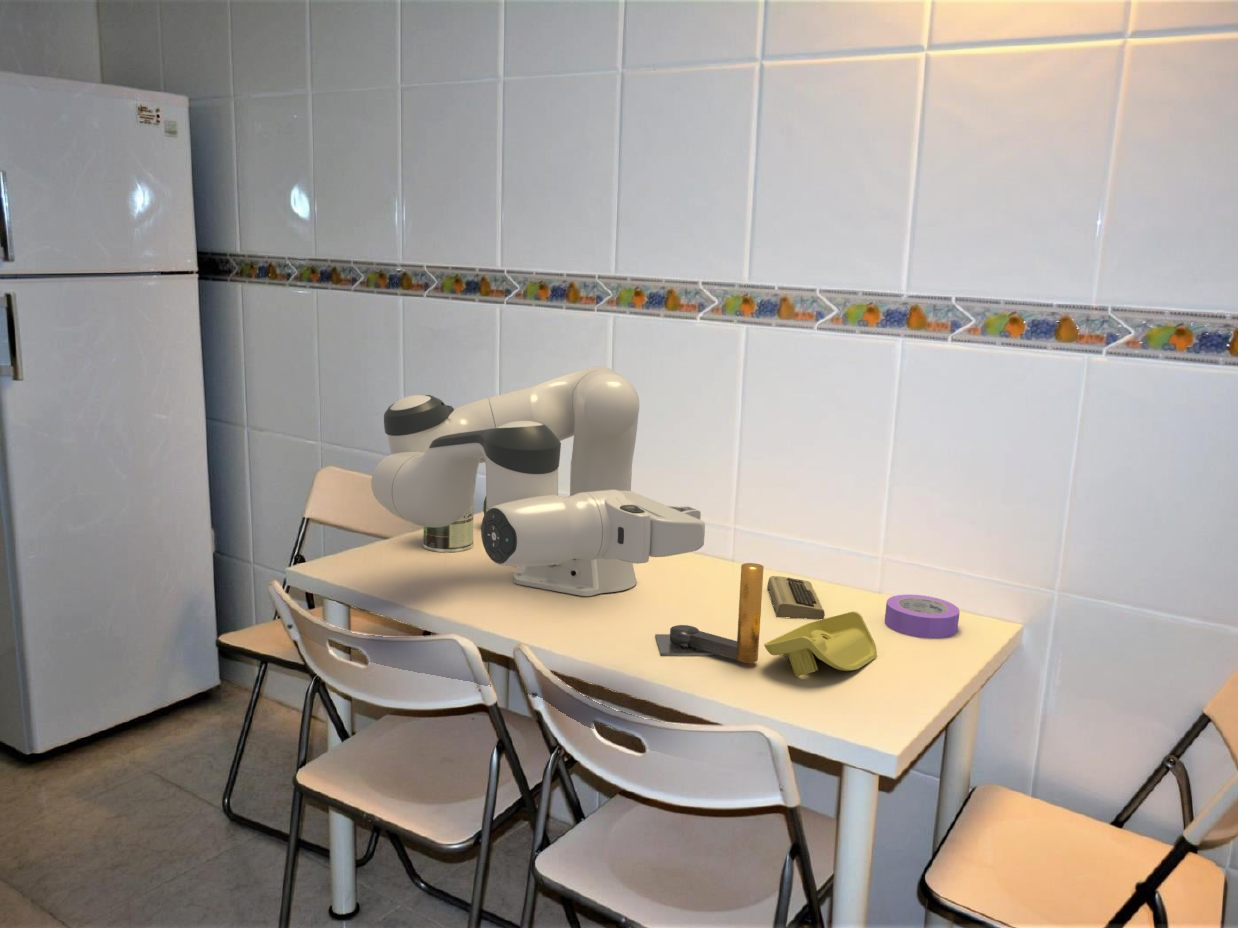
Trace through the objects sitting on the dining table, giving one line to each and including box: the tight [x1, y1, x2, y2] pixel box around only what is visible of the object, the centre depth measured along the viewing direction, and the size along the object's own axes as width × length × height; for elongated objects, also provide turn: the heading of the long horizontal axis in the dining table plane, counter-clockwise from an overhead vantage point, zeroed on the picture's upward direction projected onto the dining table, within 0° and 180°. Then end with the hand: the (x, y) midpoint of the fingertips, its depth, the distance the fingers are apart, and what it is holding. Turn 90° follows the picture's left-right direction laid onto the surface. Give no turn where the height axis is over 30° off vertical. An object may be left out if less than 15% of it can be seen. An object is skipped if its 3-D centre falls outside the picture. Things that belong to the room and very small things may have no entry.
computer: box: [766, 575, 826, 620], centre depth 179 cm, size 16×8×3 cm, turn 178°
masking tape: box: [884, 594, 961, 640], centre depth 169 cm, size 12×12×4 cm
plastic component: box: [763, 611, 878, 677], centre depth 151 cm, size 20×7×10 cm
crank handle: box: [669, 562, 765, 664], centre depth 152 cm, size 15×4×14 cm, turn 54°
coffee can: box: [422, 497, 475, 553], centre depth 207 cm, size 10×10×14 cm
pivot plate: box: [654, 633, 715, 657], centre depth 157 cm, size 8×8×1 cm
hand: (694, 514), depth 140 cm, fingers closed
